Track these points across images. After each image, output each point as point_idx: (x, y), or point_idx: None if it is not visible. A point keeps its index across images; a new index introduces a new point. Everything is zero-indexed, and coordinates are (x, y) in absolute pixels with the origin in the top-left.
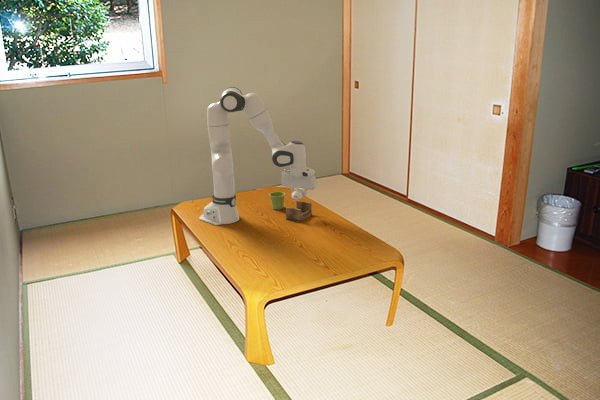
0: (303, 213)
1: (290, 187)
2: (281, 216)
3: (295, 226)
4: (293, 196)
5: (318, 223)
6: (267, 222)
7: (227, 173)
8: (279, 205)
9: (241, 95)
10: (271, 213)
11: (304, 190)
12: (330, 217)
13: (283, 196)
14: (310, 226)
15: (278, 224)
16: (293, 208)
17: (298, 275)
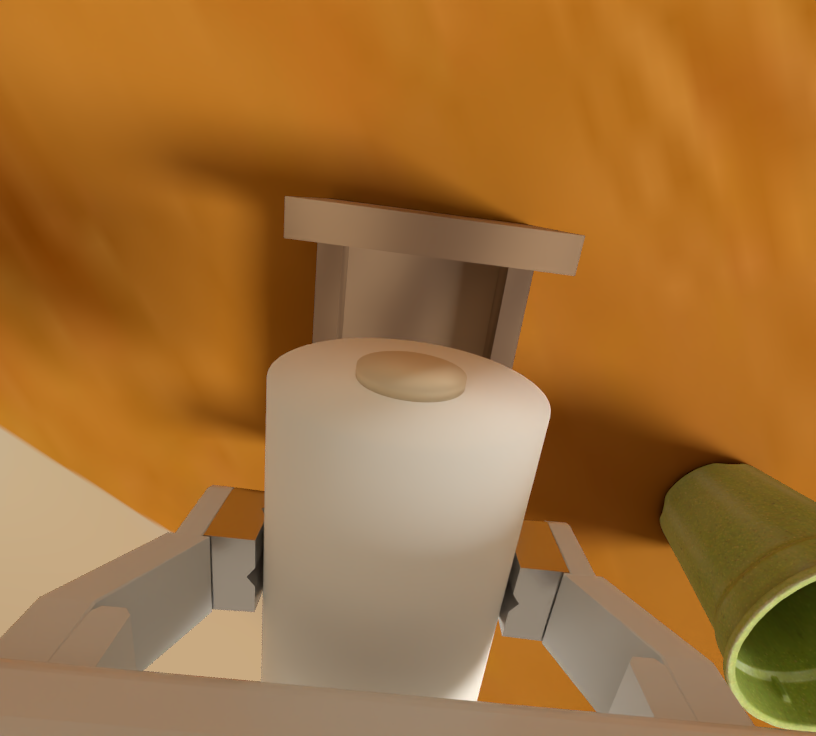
0: (333, 338)
1: (725, 710)
2: (613, 304)
3: (325, 23)
4: (478, 378)
5: (119, 234)
6: (749, 32)
7: None
8: (715, 500)
9: None
10: (755, 355)
11: (108, 608)
12: (105, 435)
13: (736, 619)
14: (150, 99)
15: (574, 10)
16: (430, 234)
17: None
